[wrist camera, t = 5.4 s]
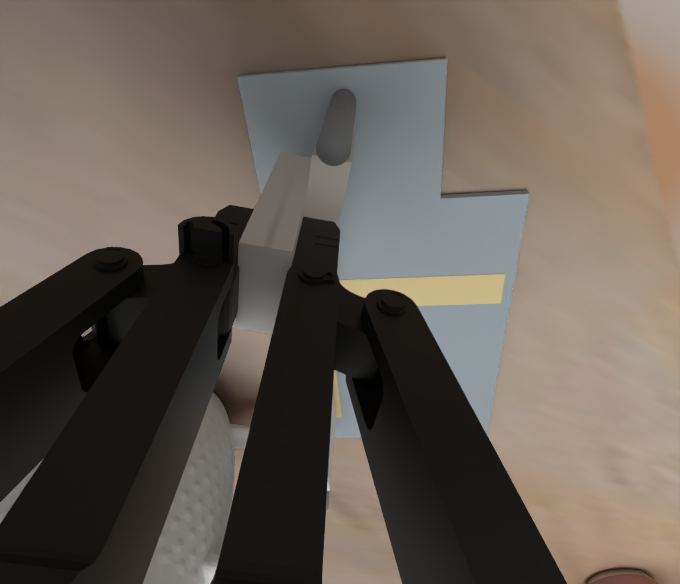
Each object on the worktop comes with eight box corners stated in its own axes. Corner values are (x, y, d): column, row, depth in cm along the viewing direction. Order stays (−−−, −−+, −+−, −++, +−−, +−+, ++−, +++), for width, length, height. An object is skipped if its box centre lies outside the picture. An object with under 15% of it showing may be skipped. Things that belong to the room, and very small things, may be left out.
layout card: (239, 75, 17) (236, 77, 17) (551, 48, 16) (555, 50, 16) (310, 433, 30) (309, 438, 30) (485, 432, 29) (486, 438, 29)
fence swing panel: (330, 85, 17) (315, 126, 12) (361, 92, 17) (358, 135, 12) (299, 278, 22) (280, 358, 17) (323, 283, 22) (310, 363, 17)
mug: (304, 342, 25) (257, 604, 15) (322, 455, 32) (297, 695, 21) (62, 345, 27) (-142, 587, 16) (126, 453, 33) (10, 678, 22)
